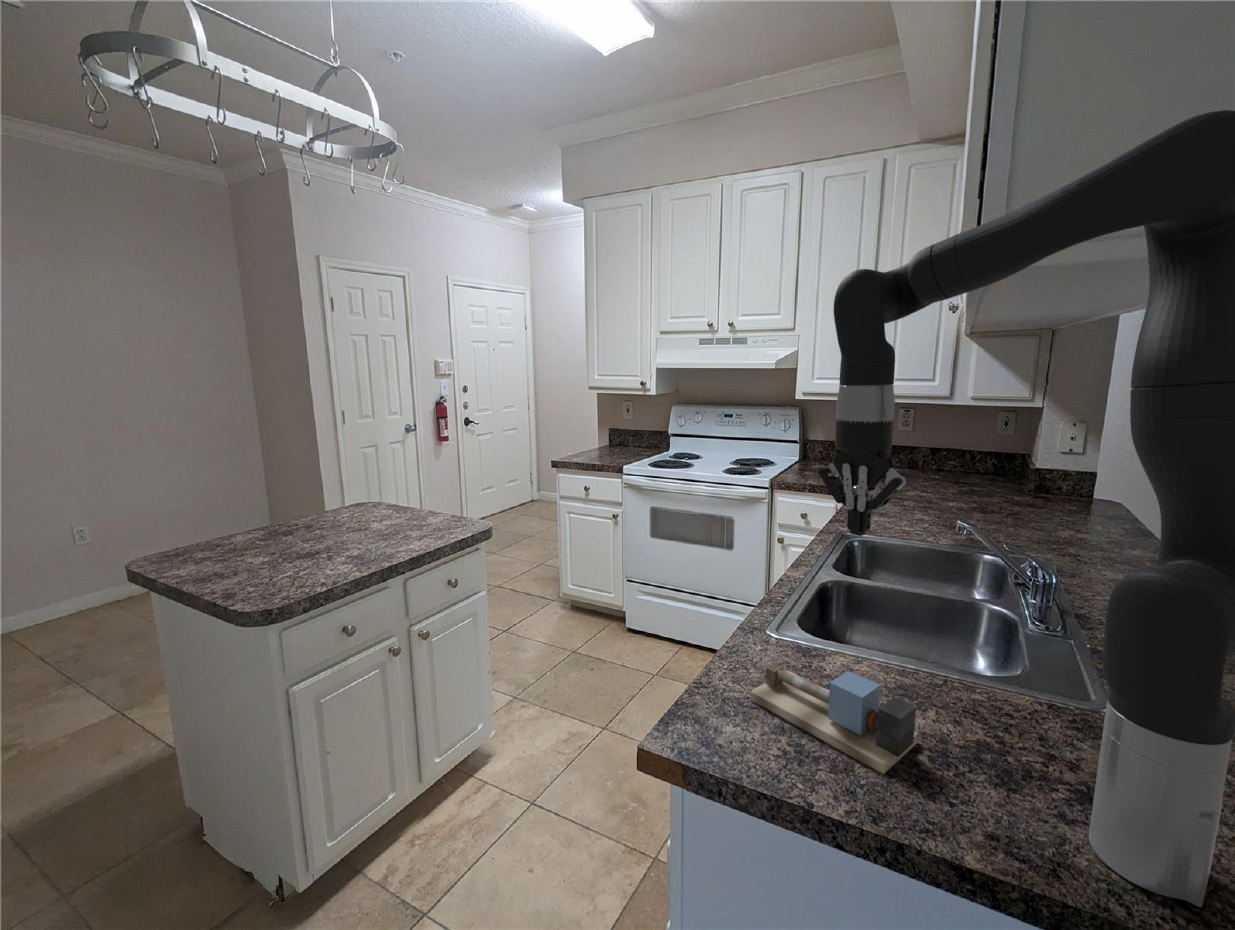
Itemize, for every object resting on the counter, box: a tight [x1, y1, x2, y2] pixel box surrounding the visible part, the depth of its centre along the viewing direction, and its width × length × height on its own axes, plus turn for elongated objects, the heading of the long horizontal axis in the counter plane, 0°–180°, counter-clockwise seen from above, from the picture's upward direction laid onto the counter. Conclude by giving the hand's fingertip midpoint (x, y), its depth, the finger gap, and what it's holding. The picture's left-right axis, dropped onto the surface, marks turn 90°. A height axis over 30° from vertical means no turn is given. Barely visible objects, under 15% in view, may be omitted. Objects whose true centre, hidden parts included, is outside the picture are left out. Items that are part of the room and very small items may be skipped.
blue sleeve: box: [828, 670, 881, 735], centre depth 81 cm, size 5×5×6 cm
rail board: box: [749, 663, 920, 775], centre depth 84 cm, size 22×10×7 cm, turn 38°
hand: (858, 534), depth 81 cm, fingers closed
